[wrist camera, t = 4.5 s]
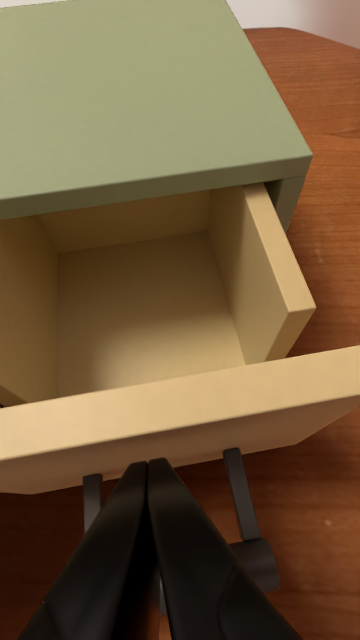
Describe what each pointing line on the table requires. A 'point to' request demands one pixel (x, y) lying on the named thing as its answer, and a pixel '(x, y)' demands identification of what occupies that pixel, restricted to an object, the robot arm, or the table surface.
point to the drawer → (159, 348)
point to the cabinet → (137, 107)
